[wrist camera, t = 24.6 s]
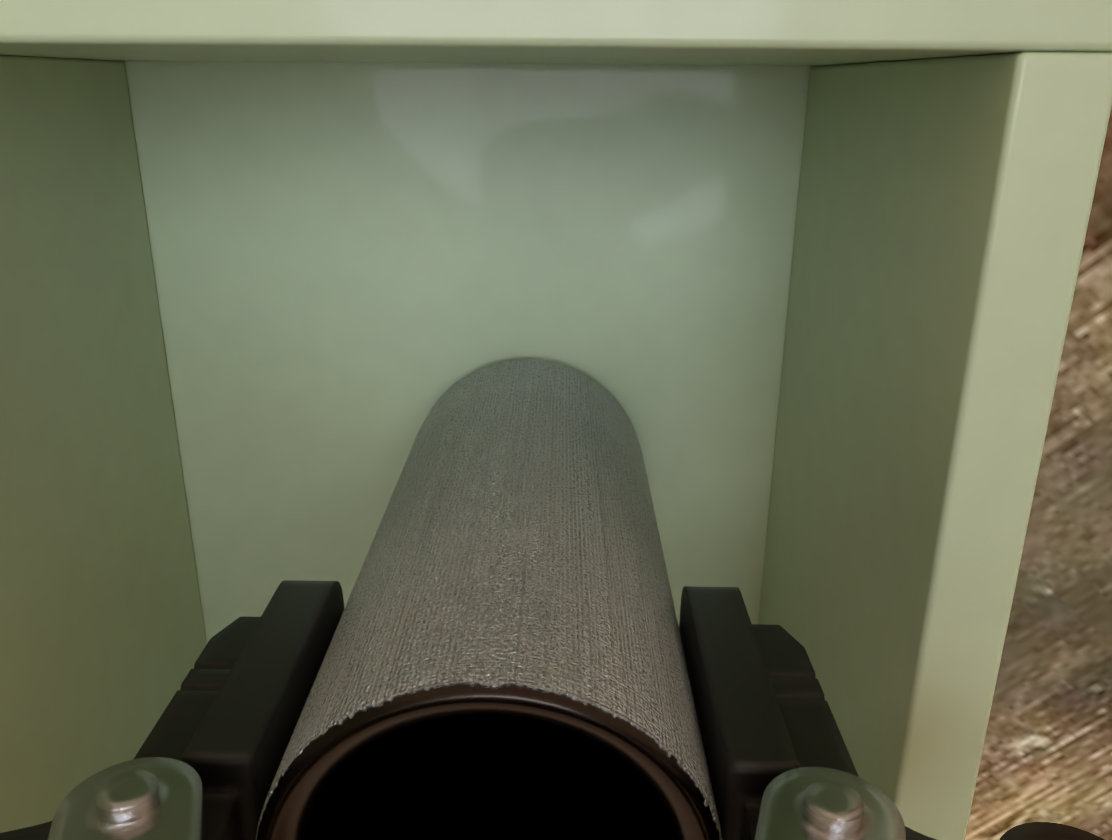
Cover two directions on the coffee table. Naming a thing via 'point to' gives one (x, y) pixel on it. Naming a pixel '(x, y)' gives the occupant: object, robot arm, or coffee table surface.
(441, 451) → the planter
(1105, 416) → the coffee table surface
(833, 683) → the chest
